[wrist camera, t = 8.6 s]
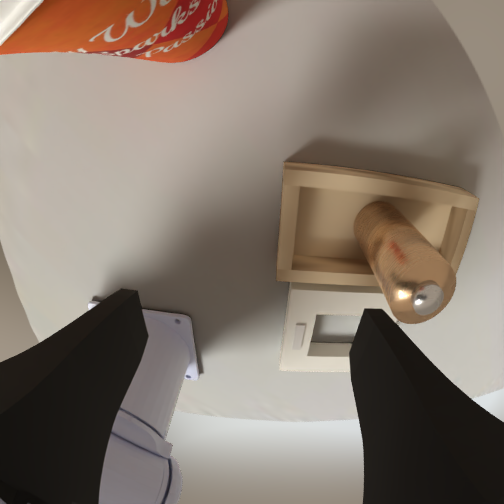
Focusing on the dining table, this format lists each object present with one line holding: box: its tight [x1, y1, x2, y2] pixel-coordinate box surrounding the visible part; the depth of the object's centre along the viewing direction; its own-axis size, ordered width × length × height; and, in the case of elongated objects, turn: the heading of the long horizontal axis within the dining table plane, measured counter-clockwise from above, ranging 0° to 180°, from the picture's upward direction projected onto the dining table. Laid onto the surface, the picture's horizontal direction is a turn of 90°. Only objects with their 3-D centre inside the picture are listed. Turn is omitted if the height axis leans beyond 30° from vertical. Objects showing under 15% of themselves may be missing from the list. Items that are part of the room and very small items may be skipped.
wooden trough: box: [276, 162, 479, 287], centre depth 16 cm, size 12×6×2 cm, turn 88°
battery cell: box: [353, 201, 456, 324], centre depth 13 cm, size 3×3×8 cm
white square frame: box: [279, 282, 398, 372], centre depth 20 cm, size 8×8×2 cm
